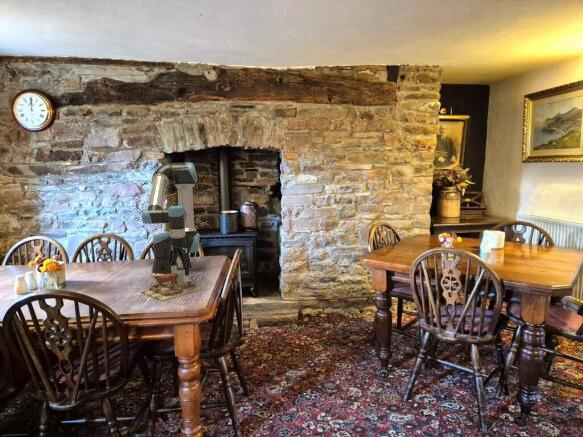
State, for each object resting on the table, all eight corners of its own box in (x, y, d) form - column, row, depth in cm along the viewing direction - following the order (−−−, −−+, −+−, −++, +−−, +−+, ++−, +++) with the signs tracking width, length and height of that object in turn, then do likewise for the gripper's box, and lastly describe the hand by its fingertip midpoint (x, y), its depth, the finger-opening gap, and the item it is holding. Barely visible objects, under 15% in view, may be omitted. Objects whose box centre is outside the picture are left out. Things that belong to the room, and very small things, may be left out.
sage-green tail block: (173, 286, 201) (172, 271, 200) (182, 284, 205) (181, 269, 204) (179, 288, 198) (178, 273, 197) (187, 286, 201) (187, 271, 200)
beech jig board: (140, 293, 195) (140, 288, 195) (179, 282, 212) (179, 278, 211) (162, 301, 182) (162, 296, 182) (201, 289, 199) (201, 284, 198)
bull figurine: (150, 288, 194) (149, 272, 193) (178, 285, 199) (177, 269, 197) (150, 291, 190) (149, 274, 189) (179, 287, 195) (178, 271, 193)
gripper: (159, 235, 202) (162, 277, 205) (184, 240, 187) (186, 285, 190) (172, 233, 208) (174, 274, 211) (197, 238, 193) (199, 281, 196)
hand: (180, 279), depth 200 cm, fingers open, 10 cm apart
